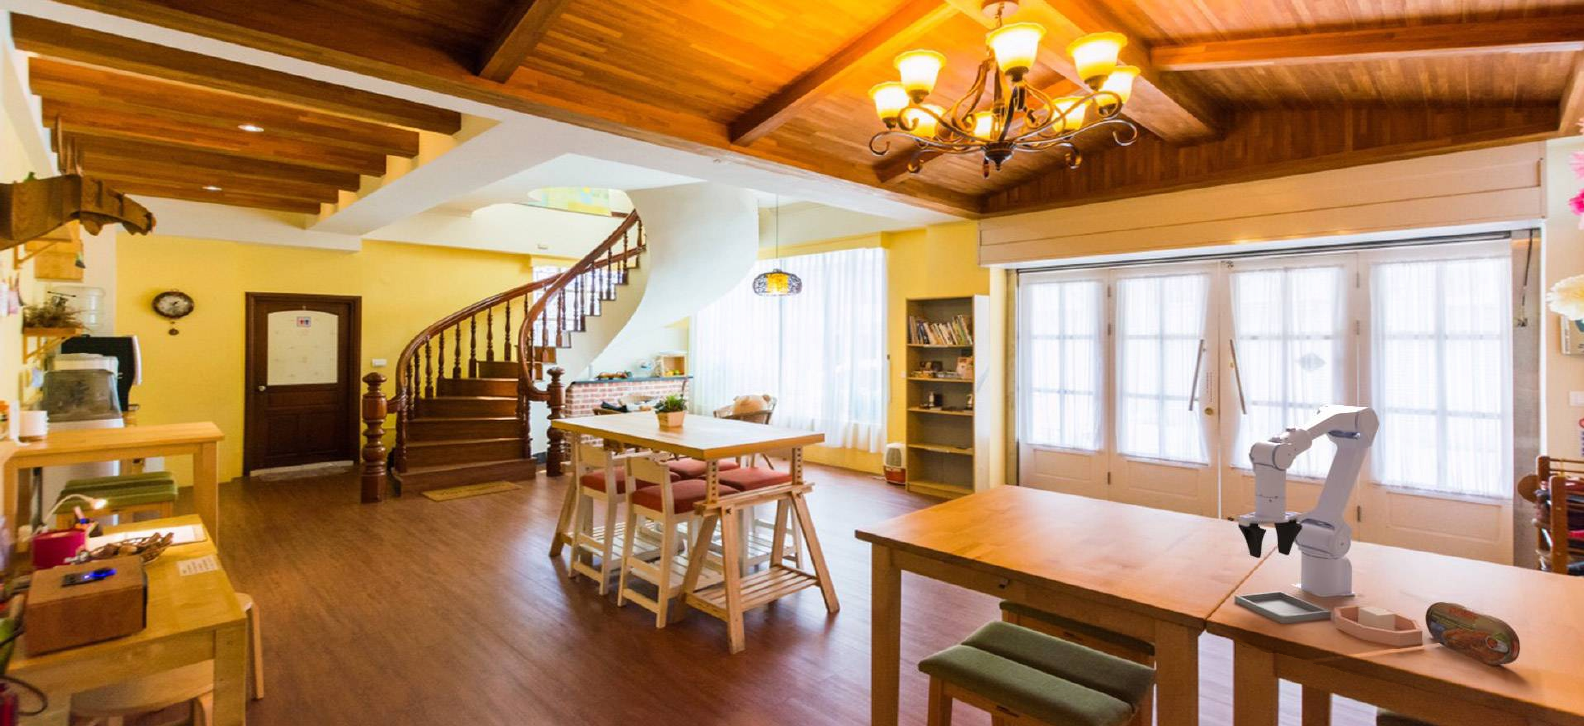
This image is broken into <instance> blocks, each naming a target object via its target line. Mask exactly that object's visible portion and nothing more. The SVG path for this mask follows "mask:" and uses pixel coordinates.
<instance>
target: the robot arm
mask: <svg viewBox="0 0 1584 726" xmlns="http://www.w3.org/2000/svg"><path fill="white" fill-rule="evenodd" d="M1379 426H1380V421H1379V417H1378V415H1377V413H1376V411H1375V409H1373V408H1371V407H1370V406H1369V407H1365V406H1364V407H1361V406H1348V405H1347V406H1346V405H1337V404H1336V405H1335V404H1331V403H1328V404H1327V403H1326V404H1324V405H1323V406H1322V407H1319V408H1318V410H1317V412H1316V415H1315V416H1314V417H1312V418H1311V419H1309V421H1307V422H1306V423H1304V424H1303V425H1301V426H1300V427H1299V426H1291V425H1289V426H1287V427H1285V430H1283V431H1282V432H1279V433H1278V434H1276V435H1273V436H1271V438H1269V439H1268V440H1259V441H1256V442H1255V443H1253V445H1252V446H1251V447H1250V450H1249V451H1250V452H1248V458H1249V461H1250V463H1251V465H1252V471H1253V473H1255V476H1254V477H1255V478H1254V480H1255V481H1254V512H1251V513H1247V514H1244V515H1238V522H1237V523H1238V524H1237V525H1238V528H1239V530H1240V532H1241V533H1242V535H1243V537H1244V539H1245V541H1246V545H1247V548H1248V553H1249V556H1251V557H1253V558H1256V559H1260V558H1261V555H1262V547H1263V542H1264V541H1263V540H1264V537H1265V534H1266V532H1267V529H1265V528H1262V527H1261V526H1260V525H1269V524H1270V525H1271V524H1273V525H1274V528H1275V532H1276V537H1277V551H1278V553H1280V554H1281V555H1284V556H1289V555H1290V553H1291V550H1292V548H1293V544H1295V545H1296V546H1297V551H1300V553H1301V554H1300V555H1301V556H1300V557H1301V558H1300V583H1292V584H1291V586H1293V587H1295V588H1297V589H1299V590H1300V589H1301V590H1303V591H1306V592H1308V593H1310V594H1313V595H1315V596H1318V597H1323V598H1325V597H1333V596H1342V597H1347V596H1355V595H1356V592H1354V591H1353V590H1352V587H1353V586H1352V585H1353V565H1352V563H1351V560H1350V559H1349V557H1348V556H1346V555H1347V554H1348V552H1349V551H1350V549H1351V544H1352V540H1351V538H1352V533H1353V528H1352V527H1351V525H1350V524H1349V523H1348V522H1347V521H1346V519H1345V518H1344V514H1345V513H1346V512H1345V511H1346V509H1347V507H1348V504H1349V502H1350V498H1351V495H1352V493H1353V490H1354V487H1355V485H1356V482H1357V479H1358V476H1359V474H1360V471H1361V470H1362V469H1361V468H1362V465H1363V463H1364V460H1365V457H1366V455H1367V451H1368V448H1370V447H1372V446H1373V444H1374V440H1375V437H1376V435H1377V431H1378V429H1379ZM1324 435H1326V436H1327V438H1328V440H1329V441H1330V442H1332V443H1333V444H1334V445H1336V451H1335V454H1334V456H1333V459H1332V463H1331V465H1330V468H1329V470H1328V473H1327V476H1326V478H1325V481H1324V484H1323V486H1322V489H1321V492H1320V495H1319V497H1318V500H1317V503H1316V506H1315V508H1313V509H1311V510H1308V511H1305V512H1303V513H1301V512H1296V511H1287V509H1286V508H1287V469H1290V468H1291V466H1292V465H1293V464H1294V463H1293V462H1294V460H1295V459H1296V458H1297V457H1298V456H1299V455H1300V454H1302V453H1304V452H1305V451H1307V450H1309V449H1310V448H1311V447H1312V445H1313V441H1314V440H1316V439H1317V438H1320V437H1322V436H1324Z"/></svg>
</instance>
